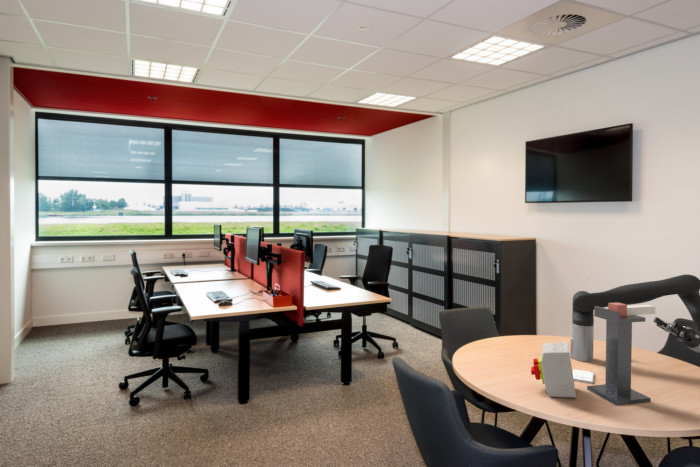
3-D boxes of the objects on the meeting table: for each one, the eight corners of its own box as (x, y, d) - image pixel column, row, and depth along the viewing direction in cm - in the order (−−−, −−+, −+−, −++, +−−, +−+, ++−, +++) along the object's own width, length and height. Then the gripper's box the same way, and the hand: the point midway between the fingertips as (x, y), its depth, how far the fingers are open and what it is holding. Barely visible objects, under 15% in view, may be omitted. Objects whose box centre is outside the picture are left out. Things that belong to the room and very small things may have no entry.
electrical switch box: (536, 386, 184) (528, 340, 185) (574, 387, 178) (567, 339, 178) (534, 400, 171) (526, 350, 172) (576, 401, 165) (568, 349, 165)
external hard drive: (593, 375, 192) (592, 385, 182) (573, 372, 196) (571, 381, 186) (594, 372, 192) (592, 381, 182) (573, 369, 196) (571, 377, 186)
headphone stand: (619, 386, 178) (620, 303, 177) (650, 402, 164) (652, 311, 162) (587, 389, 176) (588, 305, 174) (616, 405, 161) (617, 313, 159)
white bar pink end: (647, 311, 173) (647, 301, 173) (656, 314, 169) (657, 303, 169) (608, 314, 170) (608, 303, 170) (616, 316, 166) (617, 305, 165)
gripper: (680, 327, 182) (653, 309, 180) (715, 336, 168) (685, 317, 166) (672, 342, 182) (644, 325, 179) (706, 353, 168) (676, 334, 165)
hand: (664, 321), depth 172 cm, fingers open, 8 cm apart
